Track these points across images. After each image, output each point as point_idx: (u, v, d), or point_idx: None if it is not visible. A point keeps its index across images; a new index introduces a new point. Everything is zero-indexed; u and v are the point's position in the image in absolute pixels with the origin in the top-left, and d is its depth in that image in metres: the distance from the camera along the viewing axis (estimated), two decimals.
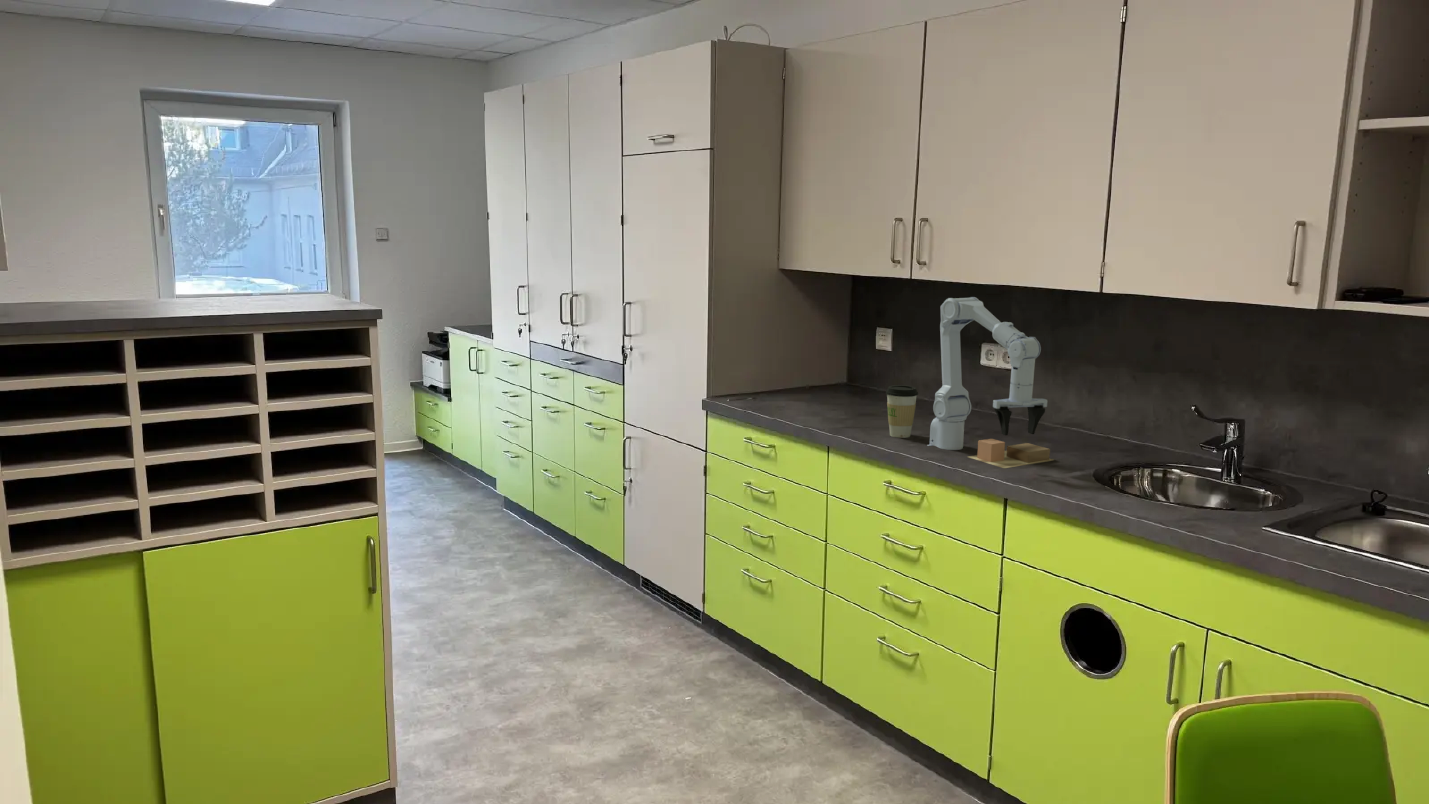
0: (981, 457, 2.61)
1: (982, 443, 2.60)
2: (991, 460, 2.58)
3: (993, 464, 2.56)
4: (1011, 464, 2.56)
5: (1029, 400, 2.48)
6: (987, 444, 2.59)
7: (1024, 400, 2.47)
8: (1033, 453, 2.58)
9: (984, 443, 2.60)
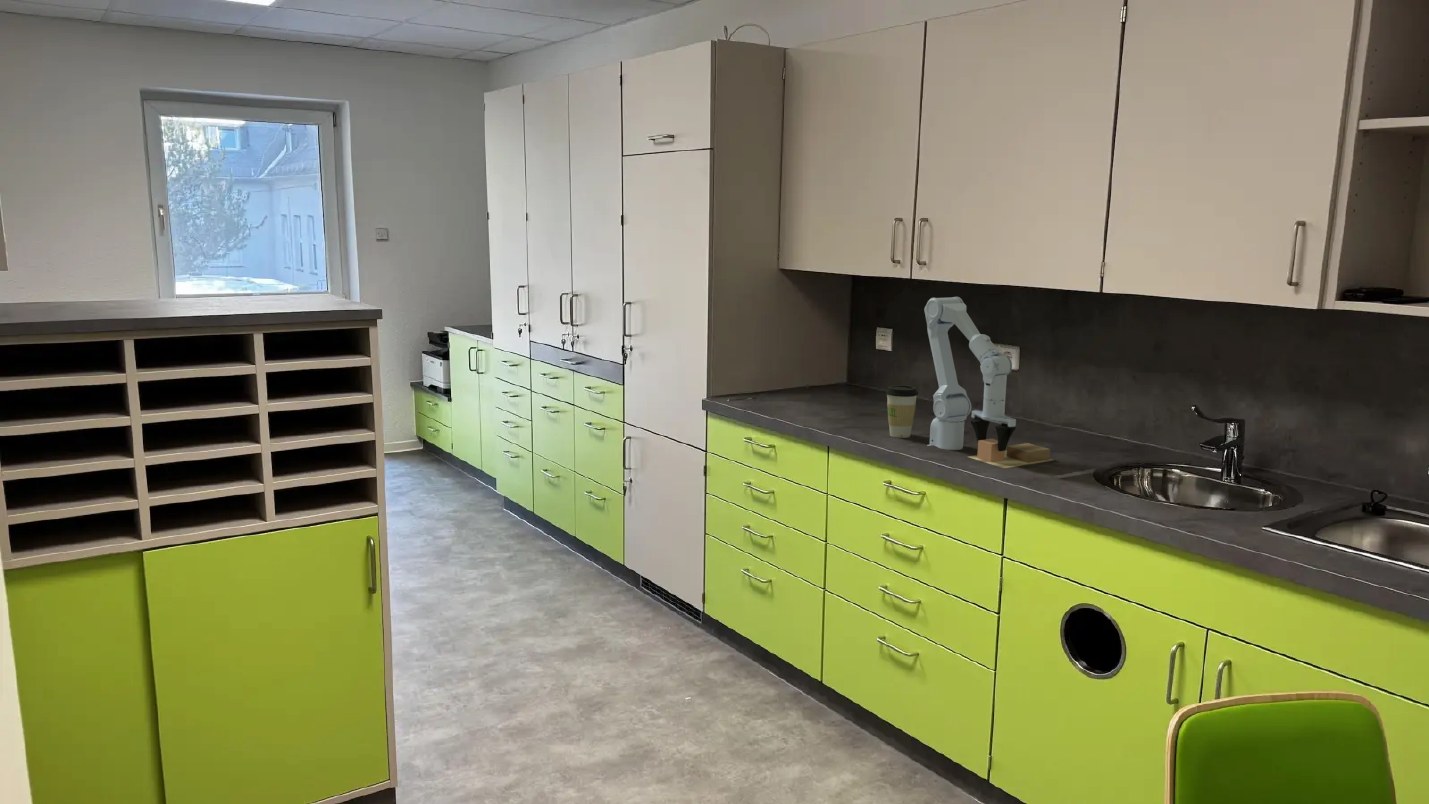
0: (981, 457, 2.61)
1: (982, 443, 2.60)
2: (991, 460, 2.58)
3: (993, 464, 2.56)
4: (1011, 464, 2.56)
5: (989, 415, 2.57)
6: (987, 444, 2.59)
7: (984, 414, 2.58)
8: (1033, 453, 2.58)
9: (984, 443, 2.60)
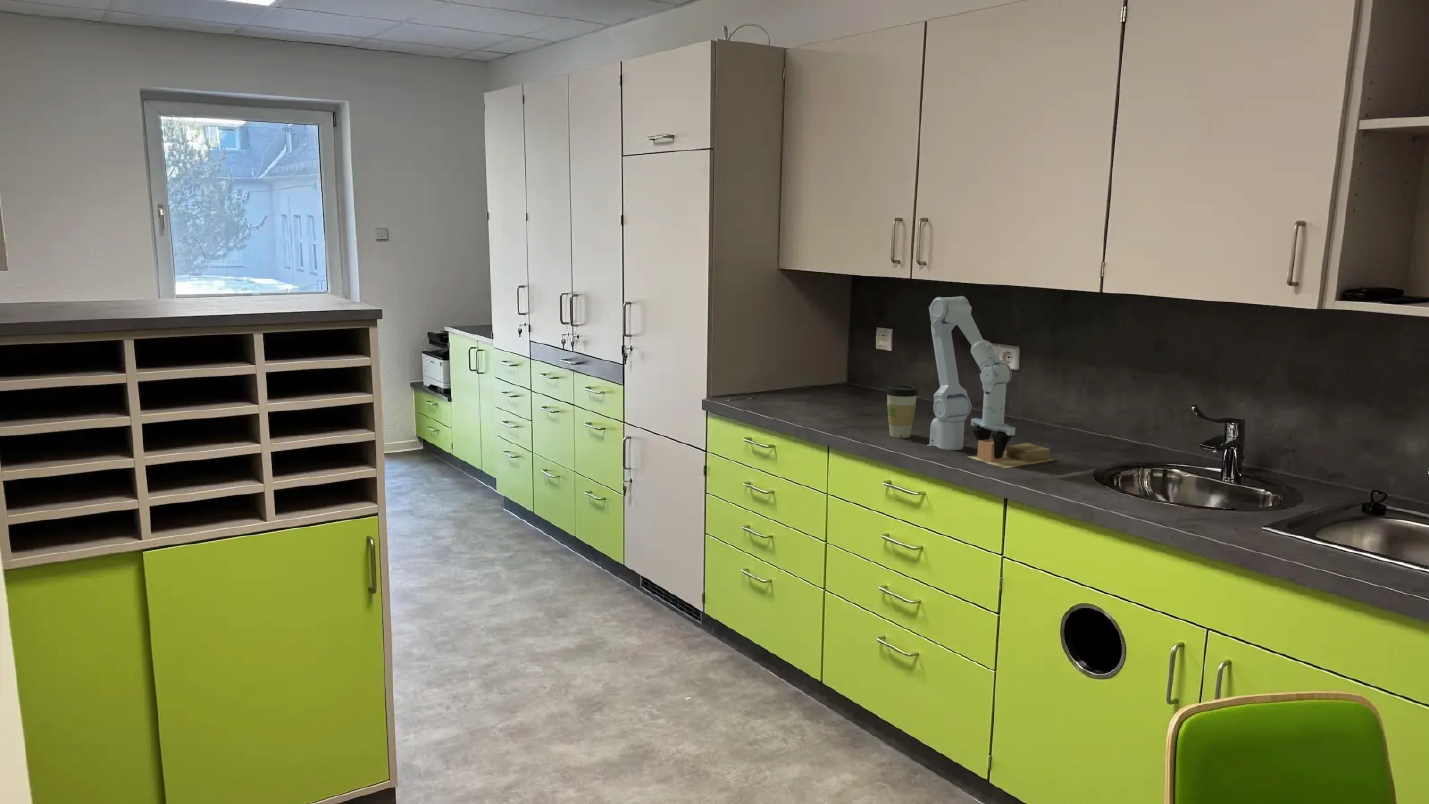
0: (981, 457, 2.61)
1: (982, 443, 2.60)
2: (991, 460, 2.58)
3: (993, 464, 2.56)
4: (1011, 464, 2.56)
5: (988, 423, 2.57)
6: (987, 444, 2.59)
7: (984, 422, 2.59)
8: (1033, 453, 2.58)
9: (984, 443, 2.60)
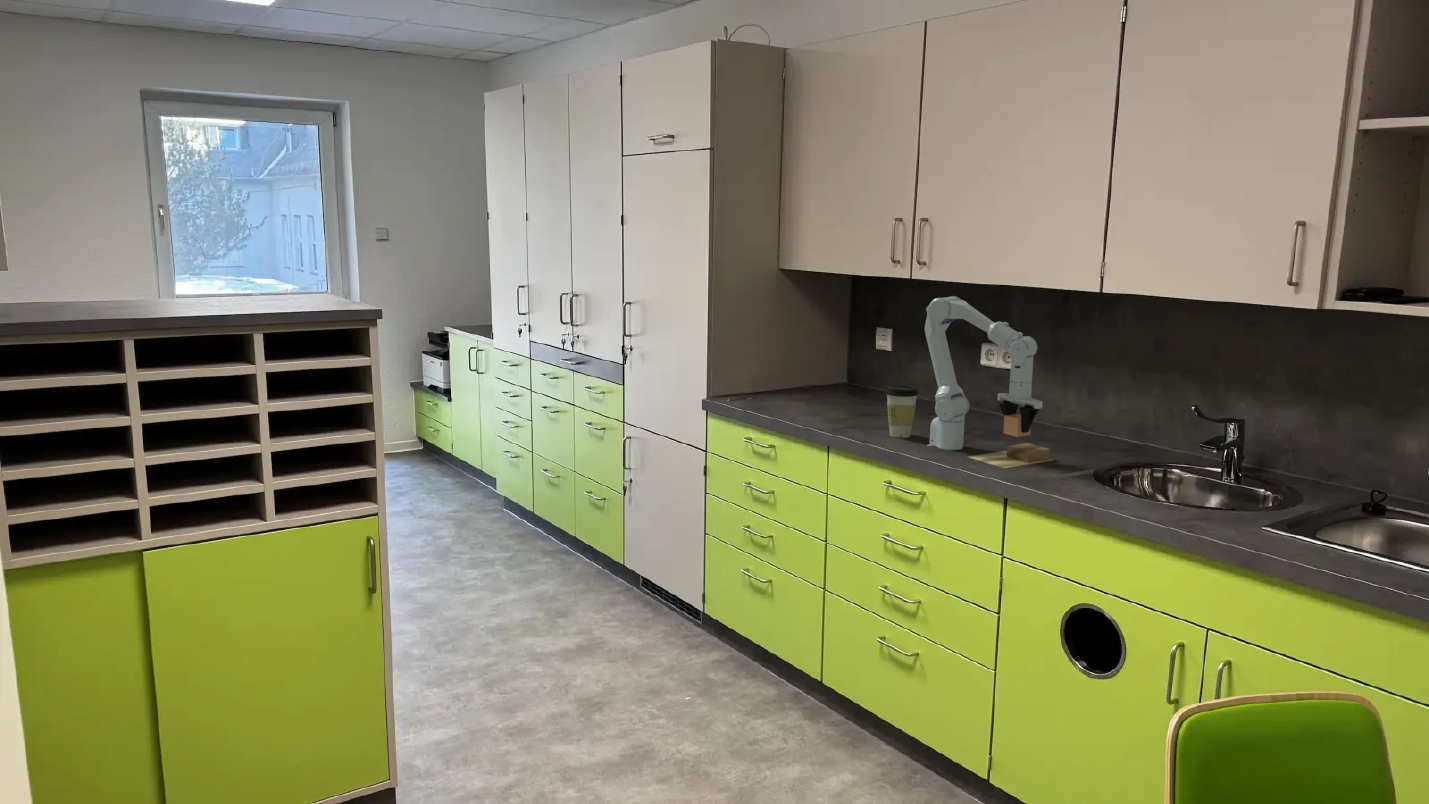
0: (1007, 432, 2.60)
1: (1008, 418, 2.60)
2: (1017, 435, 2.58)
3: (993, 464, 2.56)
4: (1011, 464, 2.56)
5: (1016, 397, 2.57)
6: (1013, 419, 2.58)
7: (1011, 396, 2.58)
8: (1033, 453, 2.58)
9: (1010, 418, 2.59)
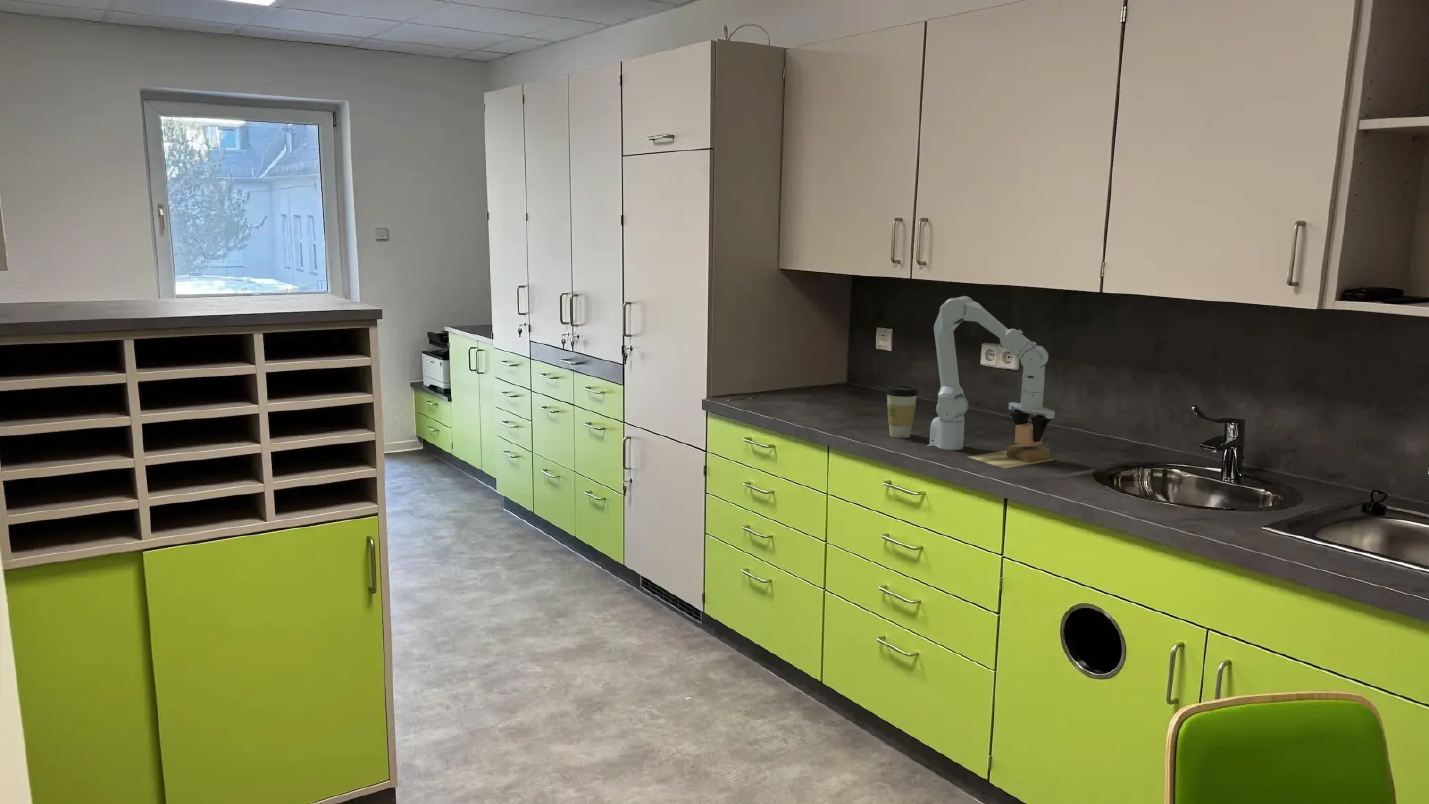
0: (1019, 442, 2.61)
1: (1020, 428, 2.61)
2: (1029, 444, 2.59)
3: (993, 464, 2.56)
4: (1011, 464, 2.56)
5: (1027, 407, 2.58)
6: (1025, 429, 2.59)
7: (1022, 405, 2.59)
8: (1033, 453, 2.58)
9: (1022, 428, 2.60)
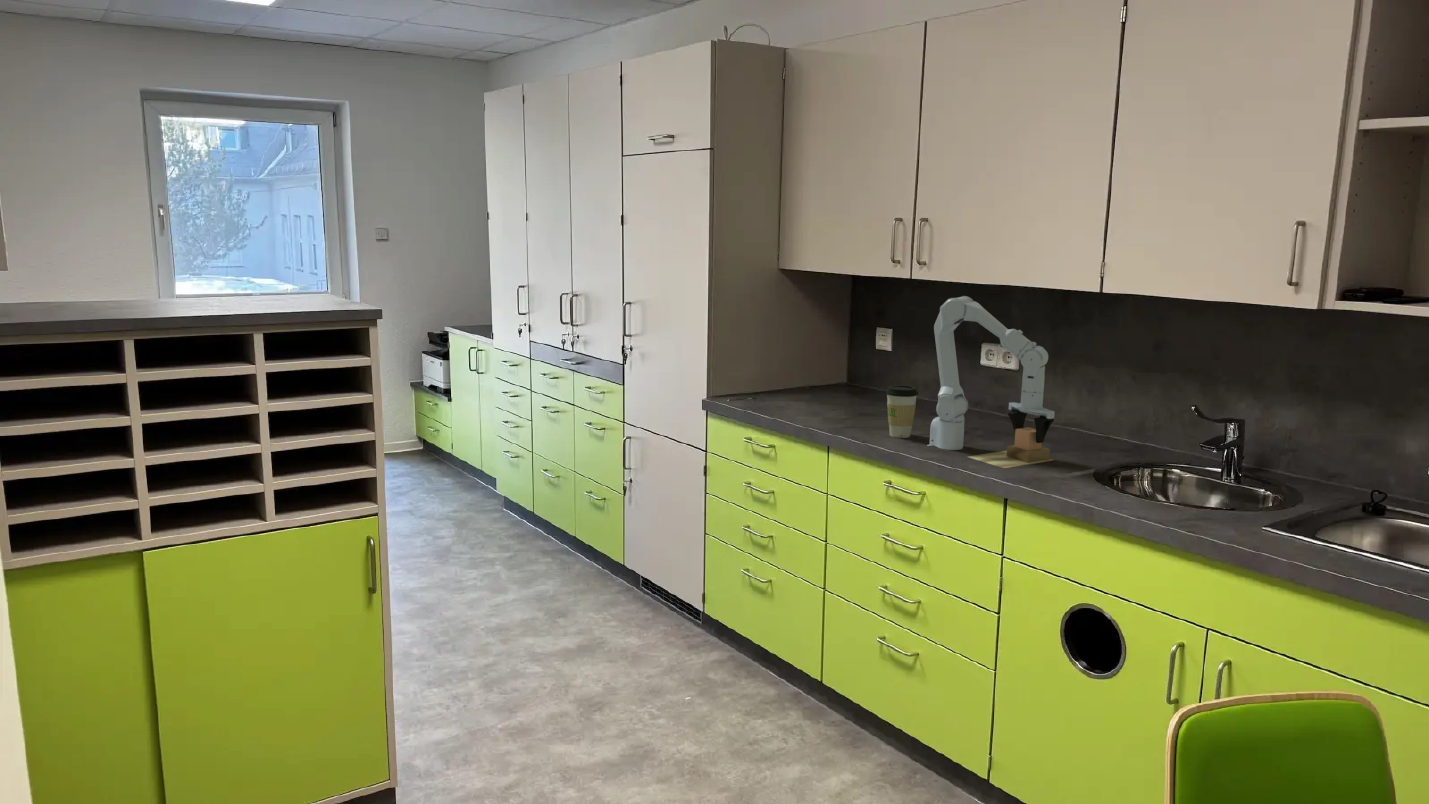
0: (1018, 446, 2.62)
1: (1019, 432, 2.61)
2: (1029, 448, 2.59)
3: (993, 464, 2.56)
4: (1011, 464, 2.56)
5: (1027, 407, 2.58)
6: (1025, 432, 2.59)
7: (1022, 406, 2.59)
8: (1033, 453, 2.58)
9: (1021, 432, 2.60)
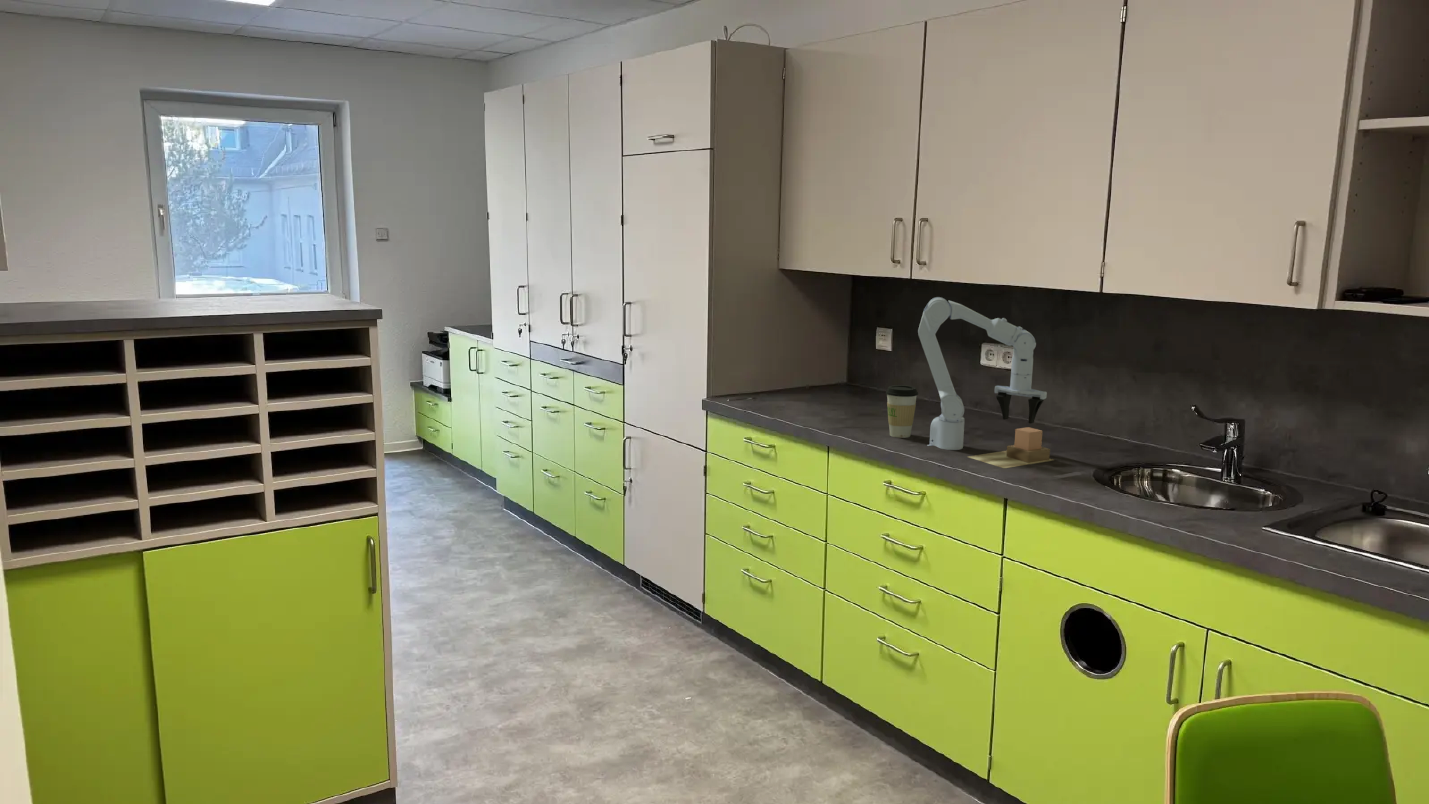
0: (1018, 446, 2.62)
1: (1019, 432, 2.61)
2: (1029, 448, 2.59)
3: (993, 464, 2.56)
4: (1011, 464, 2.56)
5: (1020, 389, 2.66)
6: (1025, 432, 2.59)
7: (1014, 388, 2.66)
8: (1033, 453, 2.58)
9: (1021, 432, 2.60)
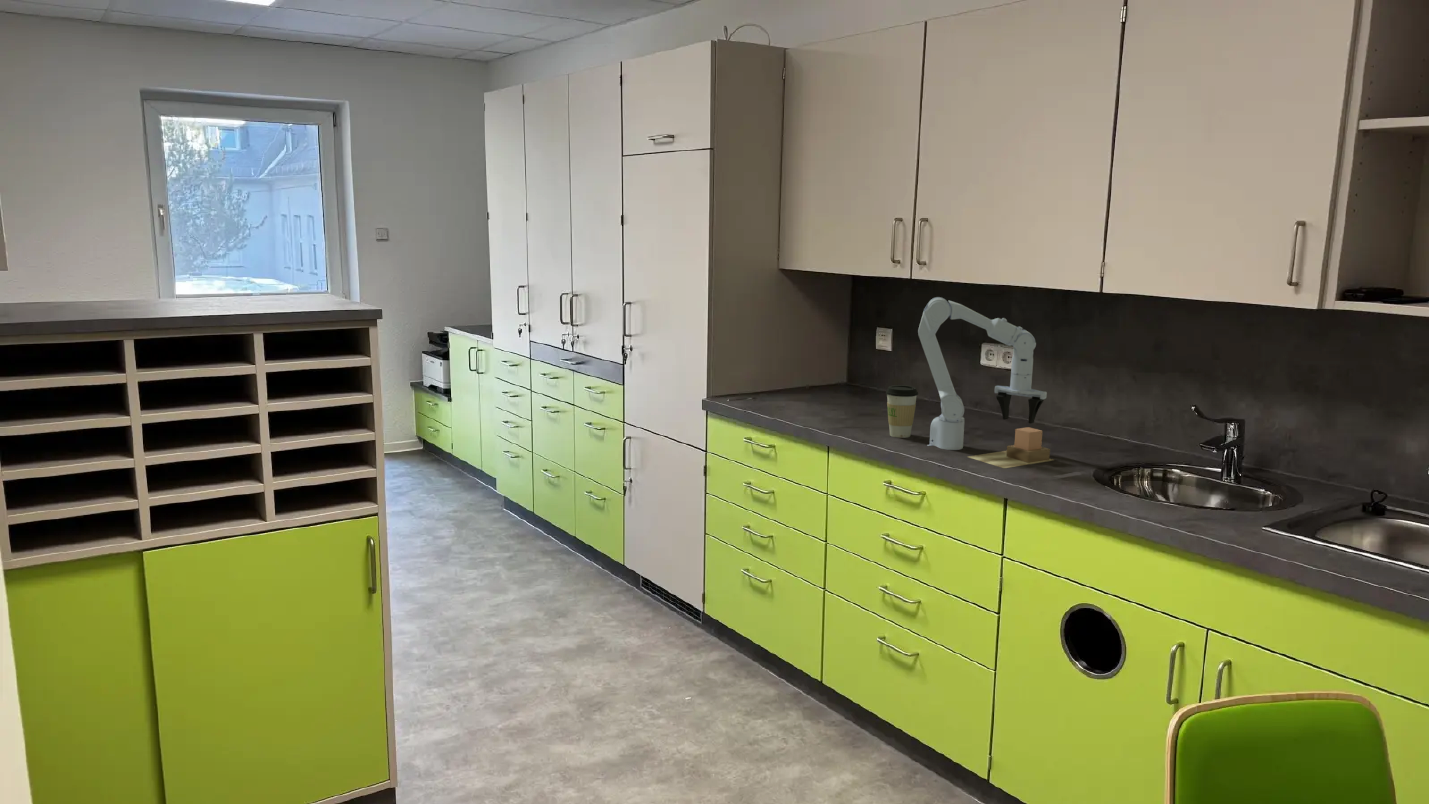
0: (1018, 446, 2.62)
1: (1019, 432, 2.61)
2: (1029, 448, 2.59)
3: (993, 464, 2.56)
4: (1011, 464, 2.56)
5: (1020, 389, 2.66)
6: (1025, 432, 2.59)
7: (1014, 388, 2.66)
8: (1033, 453, 2.58)
9: (1021, 432, 2.60)
